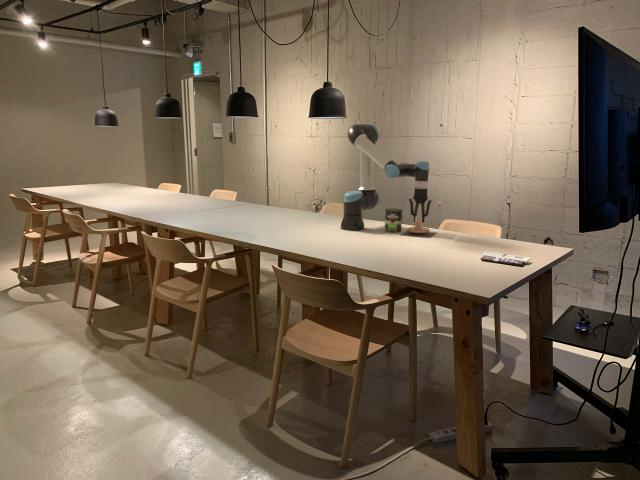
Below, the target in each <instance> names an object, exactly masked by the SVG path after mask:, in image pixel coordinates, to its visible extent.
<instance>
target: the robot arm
mask: <svg viewBox="0 0 640 480" xmlns="http://www.w3.org/2000/svg"><path fill="white" fill-rule="evenodd" d="M347 139H348V141H349V142H350V144H352V145H353V146H354V147H355V148H358V149H359V182H360V183H359V184H360V185H359V187H358V189H357V190H350V191H346V192H345V193H344V194H343V217H342V220H341V222H340V229H341V230H345V231H362V230H364V229H365V223H364V220H363V211H370V210H372V209H375V208H377V207H378V206H379V205H380V195H379V193H378V192H377V188H376V187H375V186H374V163H376V164H377V166H378V167H380V168H381V169H382V170H383V171H384V175H385V176H386V177H387V178H388V179H396V178H397V179H398V178H406V177H407V178H409V177H411V178H414V192H413V197H410V198H409V199H408V201H409V206H410V209H409V210H410V215H411V216H412V217H413V222H414V223H415V222H416V221H417V220H420V228H422V227H423V226H424V225H423V223H425V219H426V217H428V216H429V213H430V207H431V203H432V202H433V200H432V199H429V197H428V190H429V189H428V186H429V172H430V163H429V161H426V160H417V161H416V162H415V163H405V162H404V163H397V162H396V161H394V160H393V159H392V158H391V157H389V156H388V155H387V154H386V153H385V152H384V151H382V149H380V148H379V147H378V146H377V145H376V143H377V142H378V140H379V139H380V132H379V129H378V128H377V127H376V126H375V125H373V124H368V123H367V124H366V123H365V124H364V123H356V124H353V125H351V126H350V127H349V129H348V131H347ZM414 202H415V206H414ZM425 203H427V204H426V208H425ZM419 205H420V207H421V217H420V219H418V218H419V216H418V210H419Z"/></svg>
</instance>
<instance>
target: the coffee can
mask: <svg viewBox="0 0 640 480" xmlns="http://www.w3.org/2000/svg"><path fill="white" fill-rule="evenodd" d="M384 211H385V213H384V233H387V234H400V233H402V224H403V223H402V221H403V209H401V208H385V210H384Z"/></svg>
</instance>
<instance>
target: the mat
mask: <svg viewBox="0 0 640 480" xmlns="http://www.w3.org/2000/svg"><path fill="white" fill-rule="evenodd" d="M436 234H437V232H434V231H430V232H427V233H414V232H409V231H408V230H406V231H405V232H402V234H400V236H403V237H413V238H422V239H424V238H425V239H432V238H433V237H434V236H435V235H436Z"/></svg>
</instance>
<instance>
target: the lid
mask: <svg viewBox="0 0 640 480" xmlns="http://www.w3.org/2000/svg"><path fill="white" fill-rule="evenodd" d="M420 220H421V219H418V220H417V221H416V222H414V226H410V227H407V229H406V231H409V232H414V233H427V232H431V230H430V229H429V228H427V227H425V226H424V227H423V226H422V228H420Z"/></svg>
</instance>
